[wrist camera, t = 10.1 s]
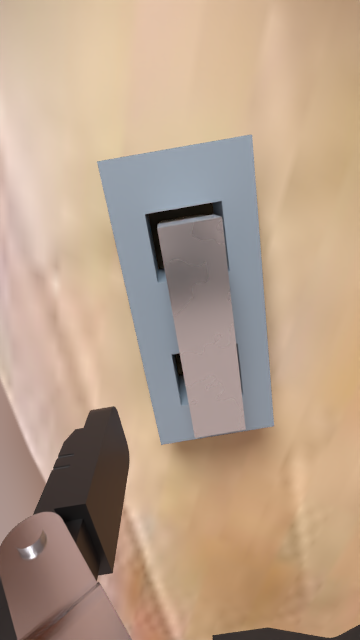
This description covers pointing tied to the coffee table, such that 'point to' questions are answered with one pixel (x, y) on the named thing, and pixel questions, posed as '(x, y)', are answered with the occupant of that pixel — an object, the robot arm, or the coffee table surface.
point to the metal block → (203, 320)
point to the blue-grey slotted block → (150, 282)
